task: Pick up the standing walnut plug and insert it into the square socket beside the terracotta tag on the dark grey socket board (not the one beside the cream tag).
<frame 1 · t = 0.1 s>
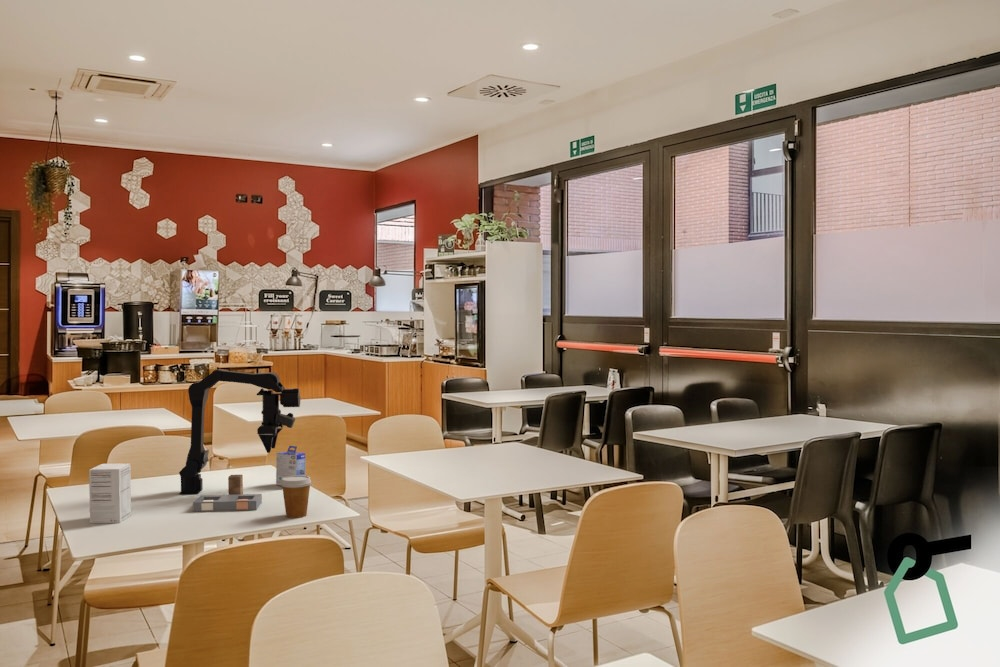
hand: (271, 450, 293), 15 cm above the table, tool pointing down, fingers open, 9 cm apart
supplement box: (110, 520, 253), on the table
socket board: (228, 507, 269), on the table
ink cartridge box: (291, 485, 302), on the table
disposable coffee cup: (296, 516, 258), on the table
walnut plug: (235, 498, 281), on the table
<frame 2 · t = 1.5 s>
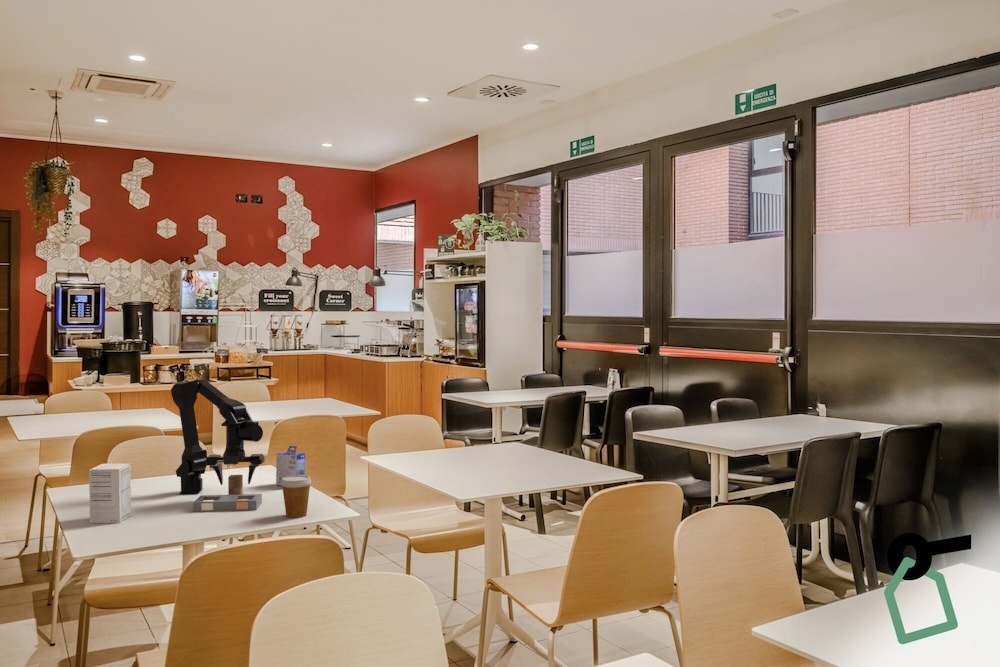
hand: (235, 484, 281), 5 cm above the table, tool pointing down, fingers open, 9 cm apart
nothing on the table moved.
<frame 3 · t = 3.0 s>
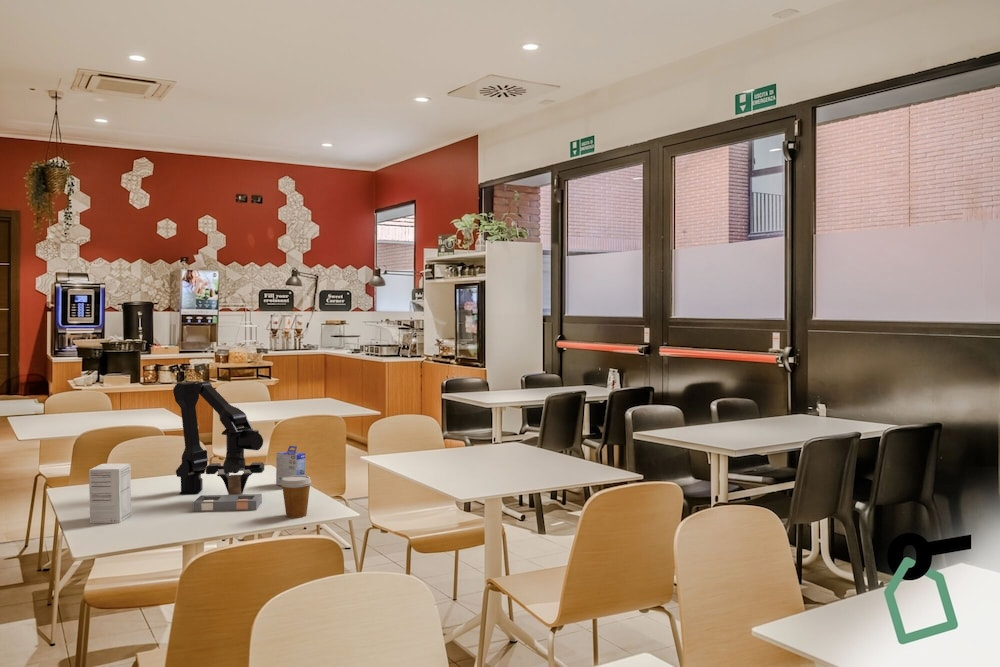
hand: (235, 492, 281), 2 cm above the table, tool pointing down, fingers closed on walnut plug, 4 cm apart
walnut plug: (235, 498, 281), on the table, touching gripper
everything else where it was.
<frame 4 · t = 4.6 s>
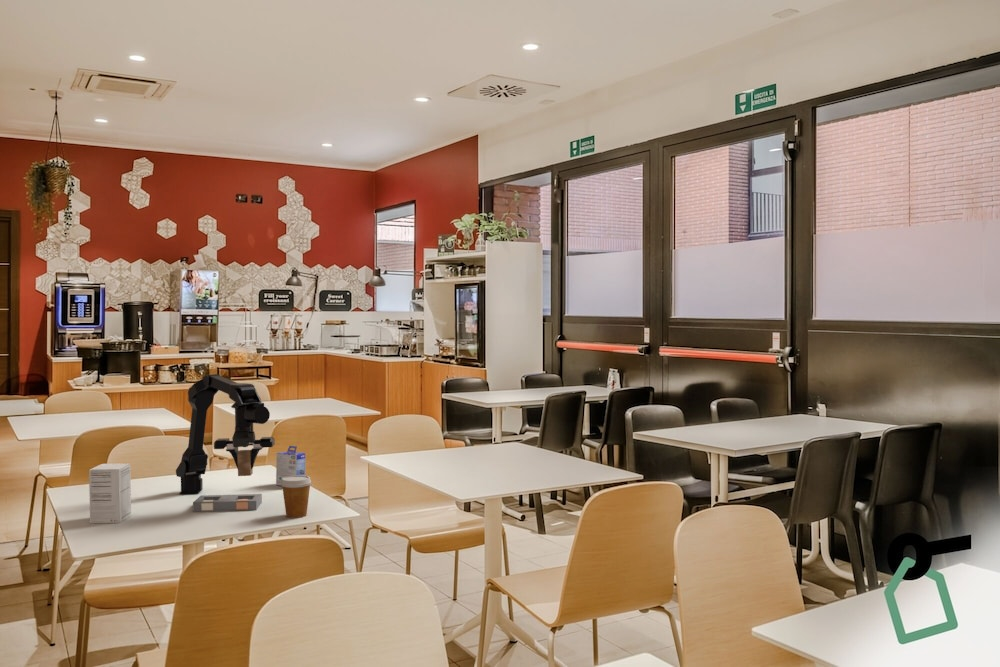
hand: (245, 468, 270), 13 cm above the table, tool pointing down, fingers closed on walnut plug, 4 cm apart
walnut plug: (245, 474, 270), point 11 cm above the table, touching gripper
everything else where it was.
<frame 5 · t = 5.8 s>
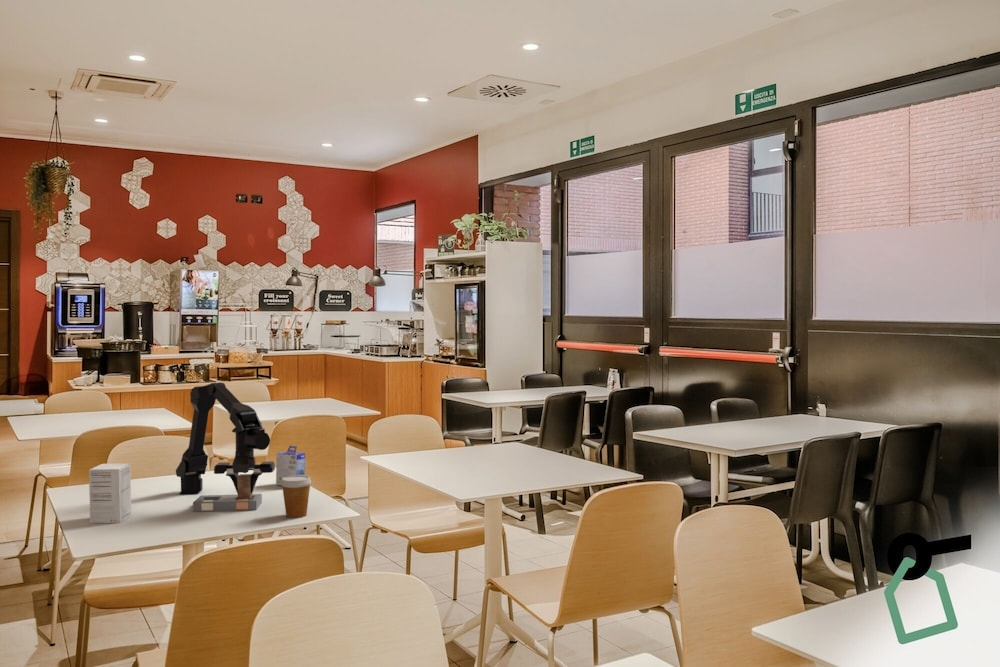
hand: (245, 493, 269), 4 cm above the table, tool pointing down, fingers closed on walnut plug, 4 cm apart
walnut plug: (245, 499, 269), point 2 cm above the table, touching gripper
everything else where it was.
when the fingers open (4 cm above the table, at t = 6.6 s): walnut plug drops 2 cm, resting in socket board.
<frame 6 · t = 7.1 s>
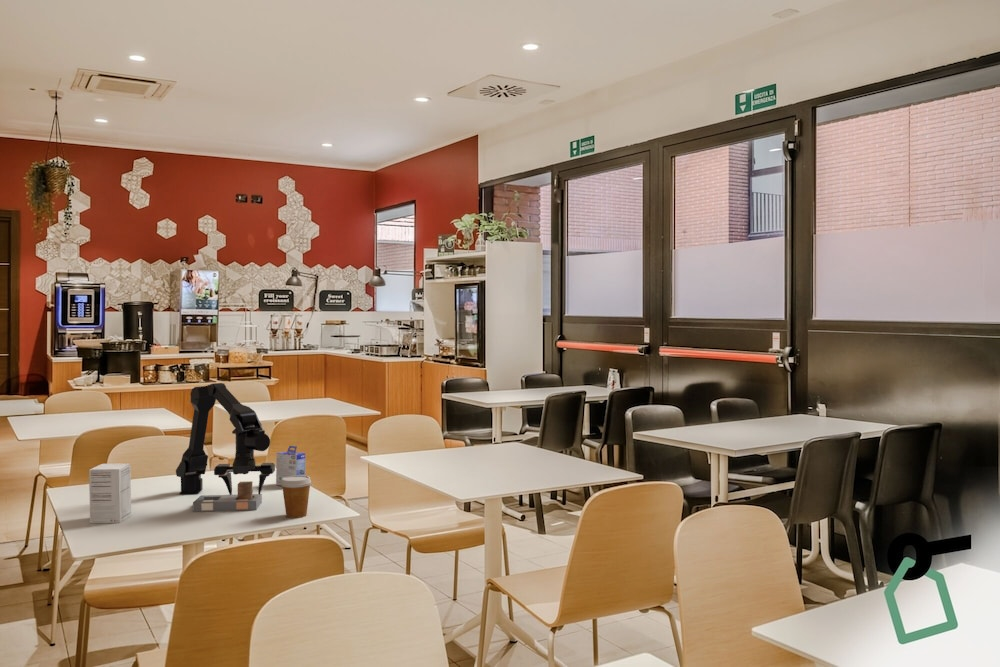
hand: (245, 494, 269), 4 cm above the table, tool pointing down, fingers open, 9 cm apart
walnut plug: (245, 506, 269), resting in socket board
everything else where it was.
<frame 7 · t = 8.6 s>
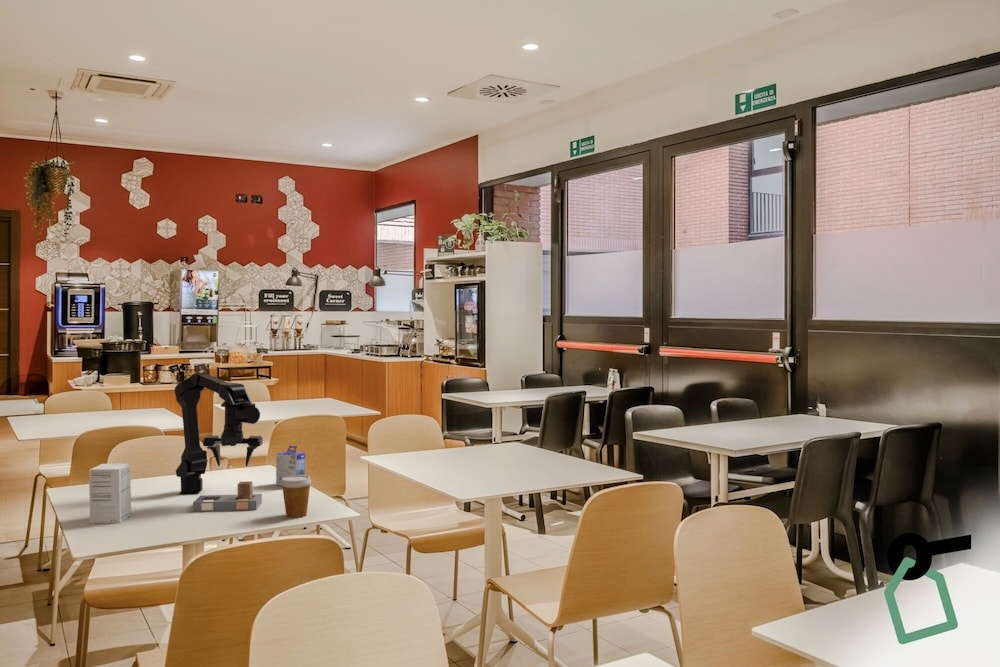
hand: (232, 465, 277), 12 cm above the table, tool pointing down, fingers open, 9 cm apart
nothing on the table moved.
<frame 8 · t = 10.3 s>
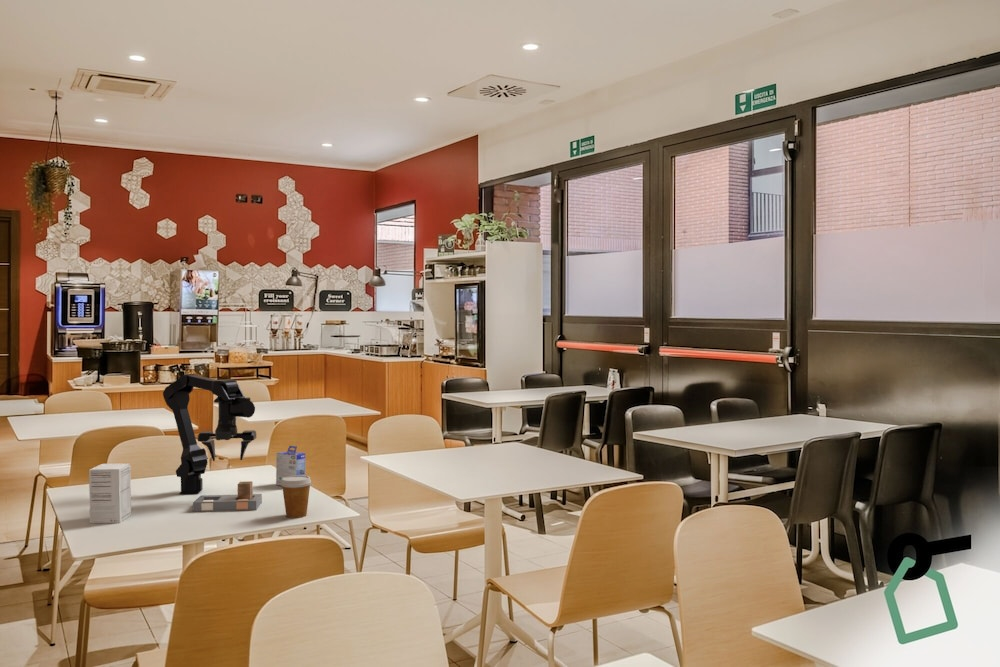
hand: (227, 460, 282), 13 cm above the table, tool pointing down, fingers open, 9 cm apart
nothing on the table moved.
at the end: walnut plug 0.0 cm from the target spot on the socket board, point 0.0 cm above the socket board's base; the gripper is holding nothing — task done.
